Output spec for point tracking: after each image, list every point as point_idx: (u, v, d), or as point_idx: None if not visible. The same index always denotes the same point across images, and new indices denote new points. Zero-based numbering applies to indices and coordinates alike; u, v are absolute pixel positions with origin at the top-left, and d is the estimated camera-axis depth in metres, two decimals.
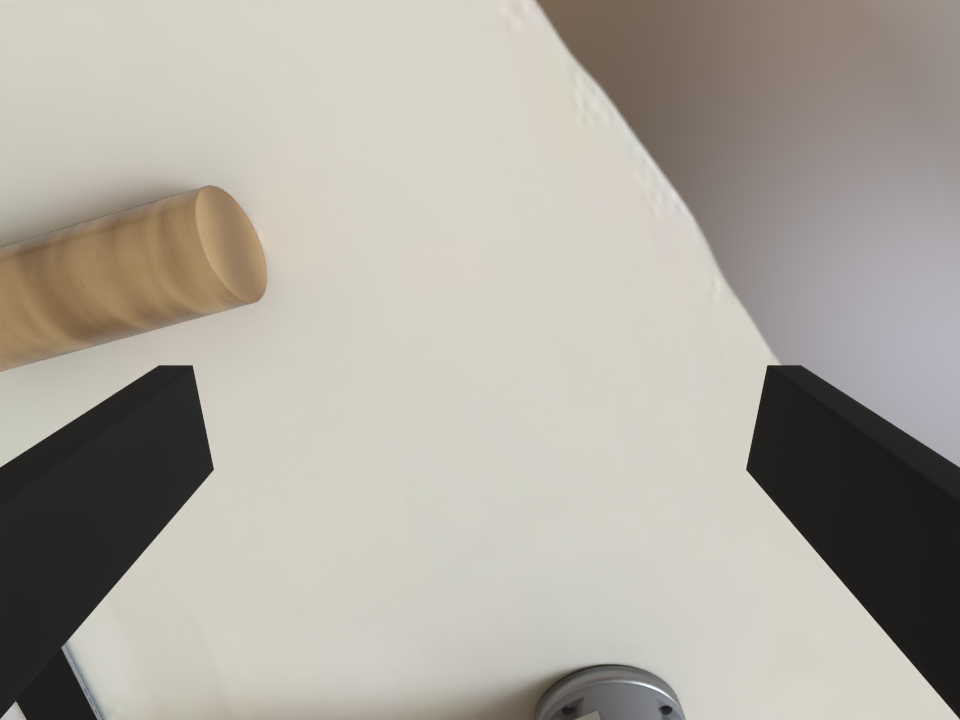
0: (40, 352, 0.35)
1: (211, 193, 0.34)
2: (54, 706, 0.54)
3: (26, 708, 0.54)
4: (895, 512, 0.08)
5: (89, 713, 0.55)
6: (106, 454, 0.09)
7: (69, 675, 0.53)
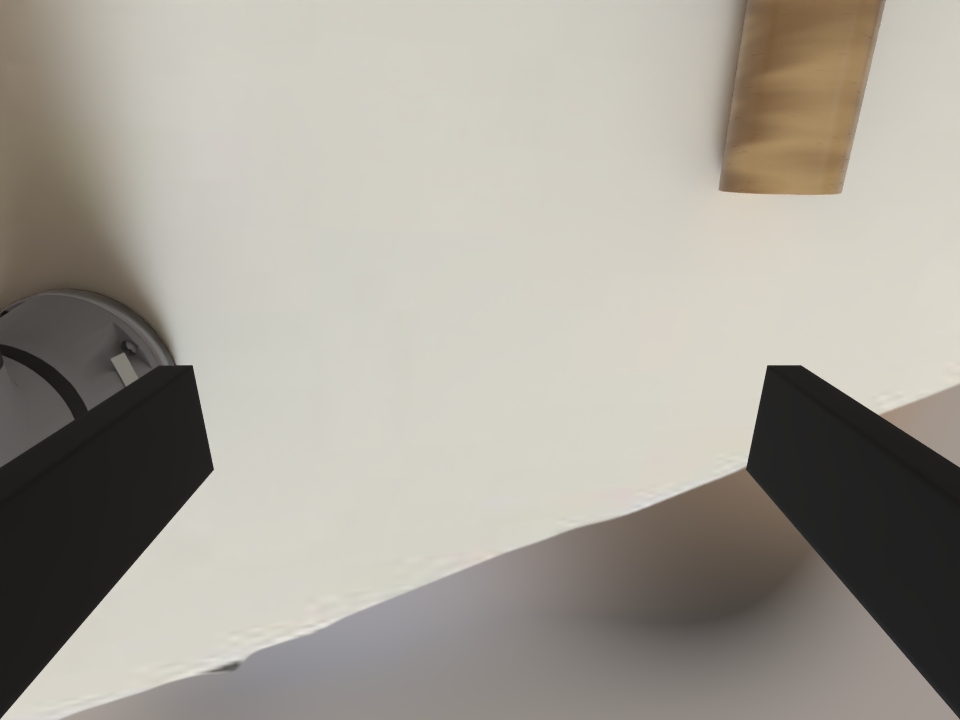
0: None
1: None
2: None
3: None
4: (895, 512, 0.08)
5: None
6: (106, 454, 0.09)
7: None
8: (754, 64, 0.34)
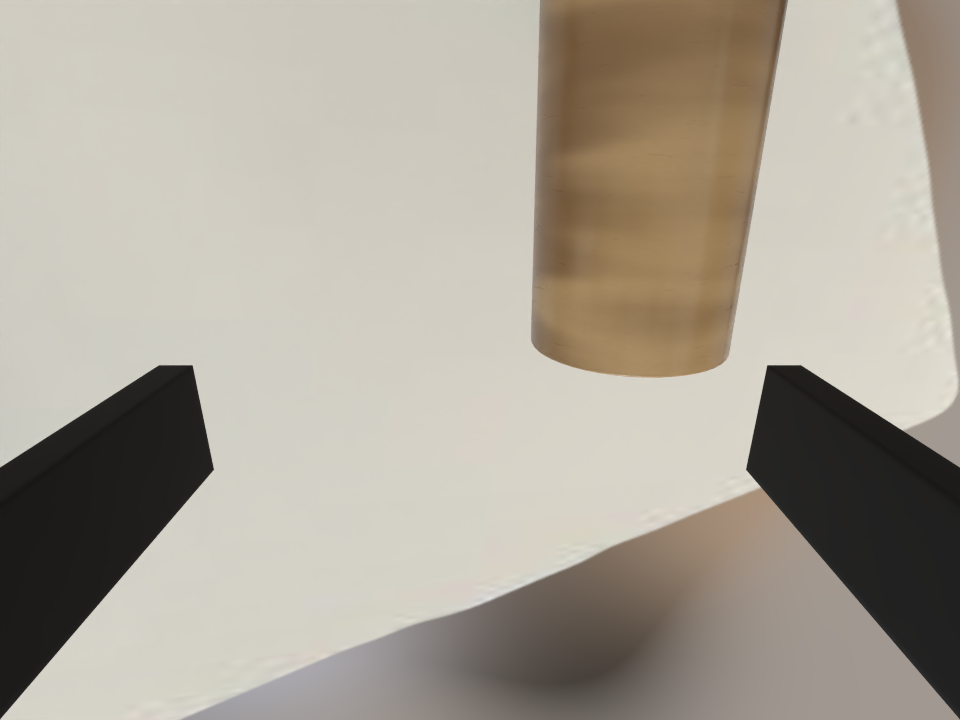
0: None
1: None
2: None
3: None
4: (895, 512, 0.08)
5: None
6: (106, 454, 0.09)
7: None
8: (548, 134, 0.18)
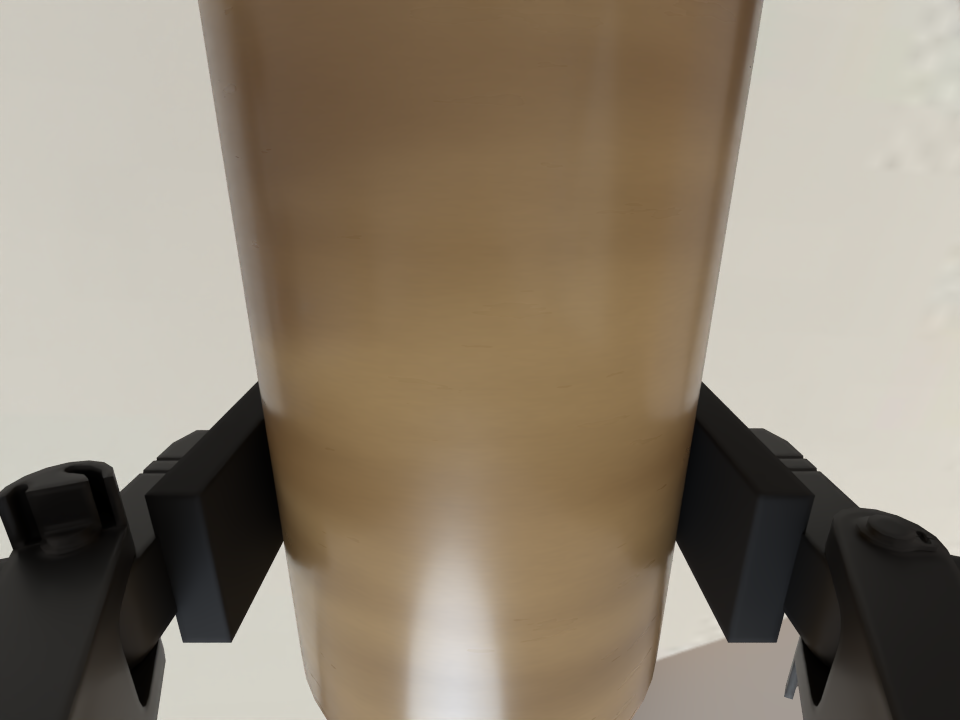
0: None
1: None
2: None
3: None
4: (690, 458, 0.10)
5: None
6: None
7: None
8: None
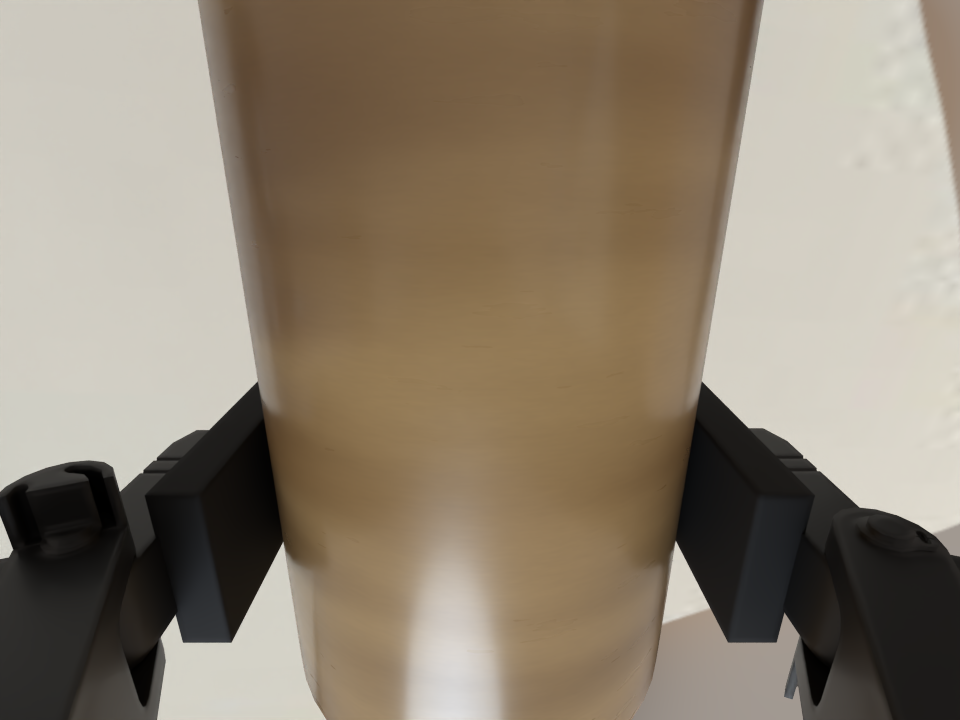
0: None
1: None
2: None
3: None
4: (690, 458, 0.10)
5: None
6: None
7: None
8: None
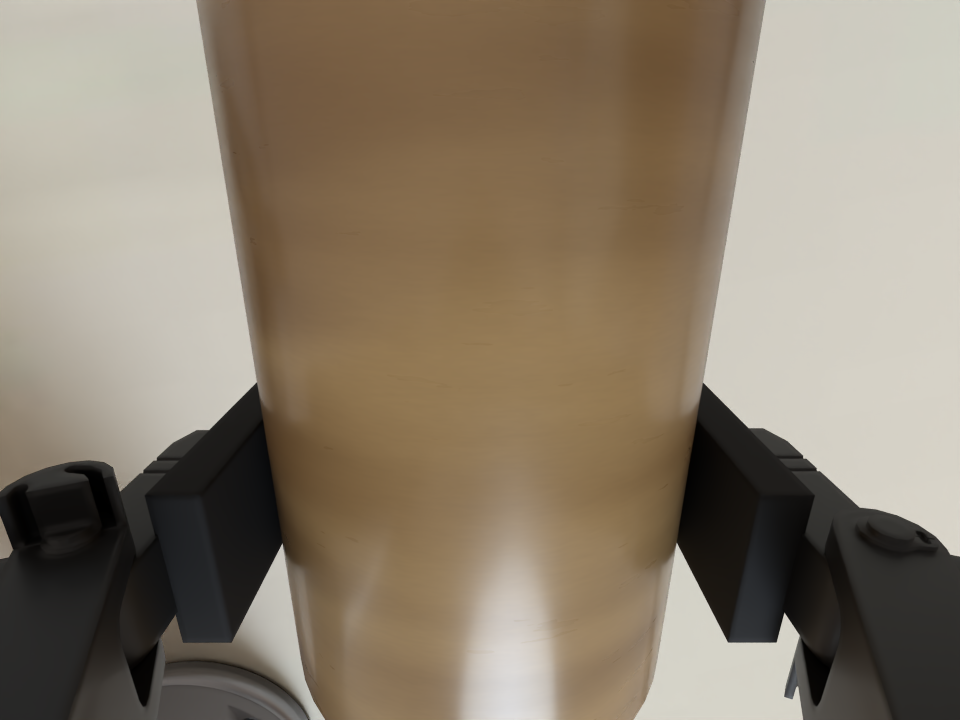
0: None
1: None
2: None
3: None
4: (690, 458, 0.10)
5: None
6: None
7: None
8: None
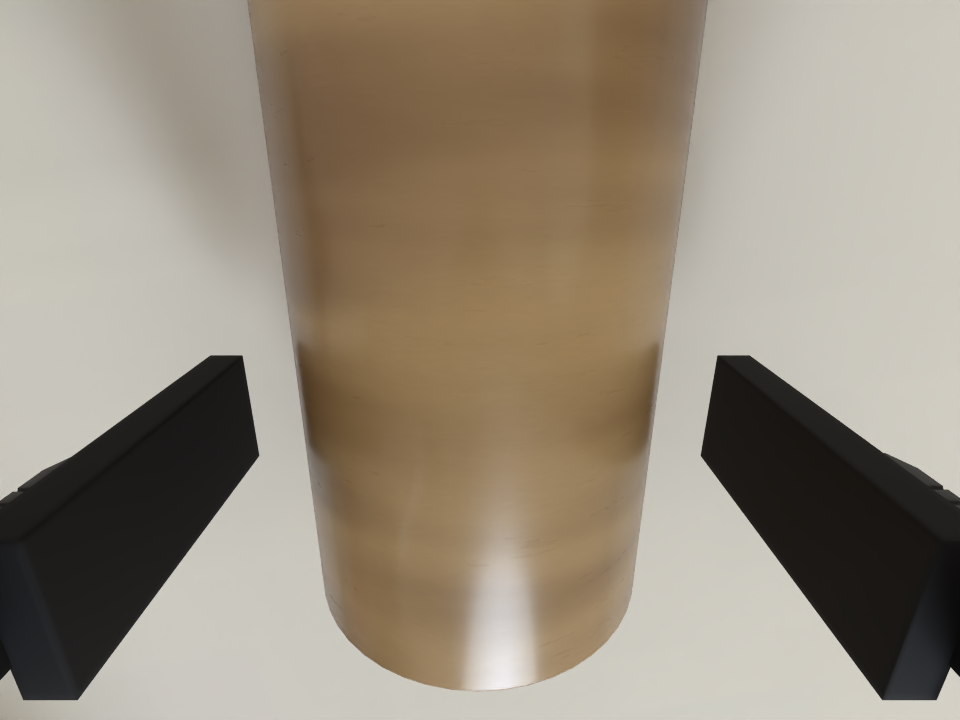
0: None
1: None
2: None
3: None
4: (816, 488, 0.09)
5: None
6: (175, 436, 0.10)
7: None
8: None
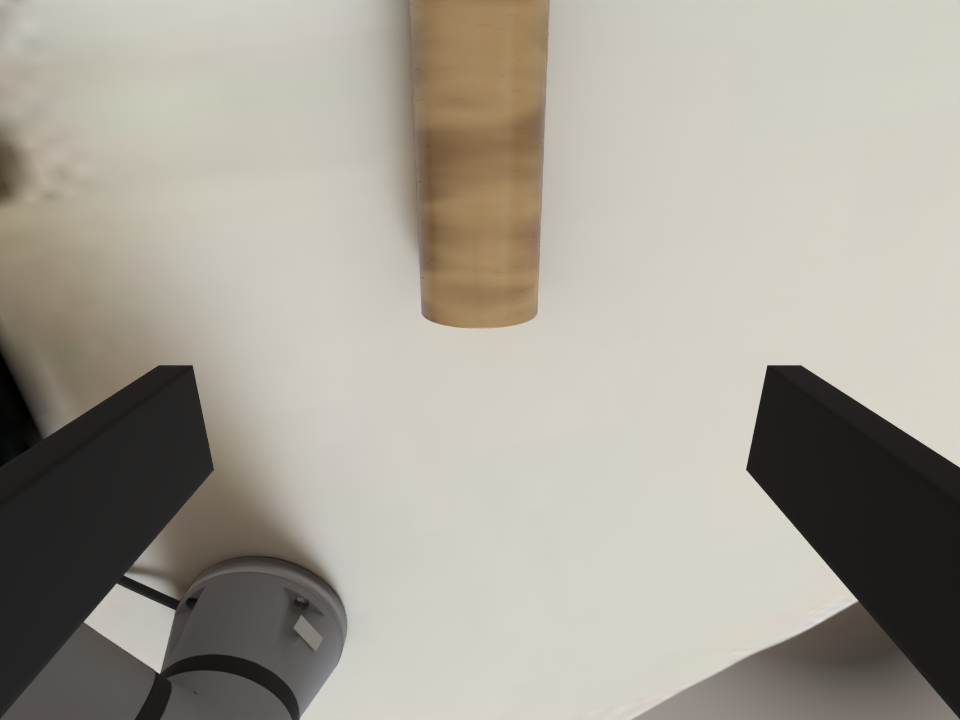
0: (422, 68, 0.29)
1: None
2: None
3: None
4: (895, 512, 0.08)
5: None
6: (106, 454, 0.09)
7: None
8: (418, 190, 0.32)
